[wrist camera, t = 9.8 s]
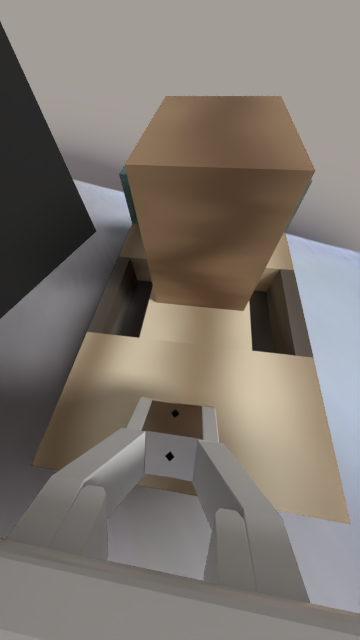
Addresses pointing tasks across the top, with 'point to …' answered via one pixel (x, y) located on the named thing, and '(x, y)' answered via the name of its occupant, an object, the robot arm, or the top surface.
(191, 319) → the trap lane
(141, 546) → the top surface
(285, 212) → the walnut block
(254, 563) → the robot arm
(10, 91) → the binders
